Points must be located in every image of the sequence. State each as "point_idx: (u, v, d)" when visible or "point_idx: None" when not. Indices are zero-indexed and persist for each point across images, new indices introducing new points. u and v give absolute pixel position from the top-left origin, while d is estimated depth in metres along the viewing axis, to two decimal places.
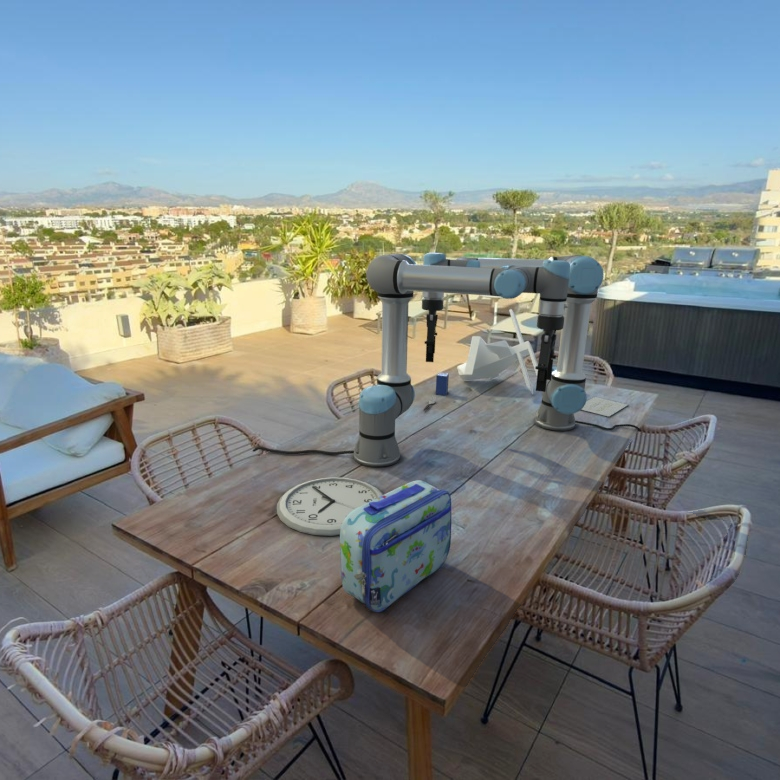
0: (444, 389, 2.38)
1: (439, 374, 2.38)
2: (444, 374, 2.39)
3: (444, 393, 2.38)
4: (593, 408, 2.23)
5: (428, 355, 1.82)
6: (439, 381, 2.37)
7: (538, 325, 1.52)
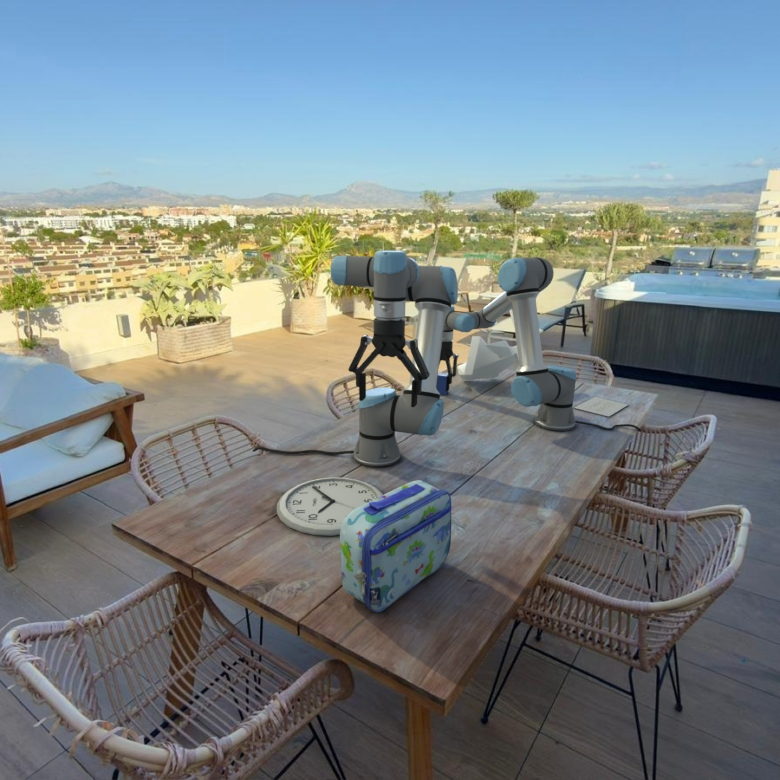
0: (444, 389, 2.38)
1: (439, 374, 2.38)
2: (444, 374, 2.39)
3: (444, 393, 2.38)
4: (593, 408, 2.23)
5: (448, 385, 2.38)
6: (439, 381, 2.37)
7: None
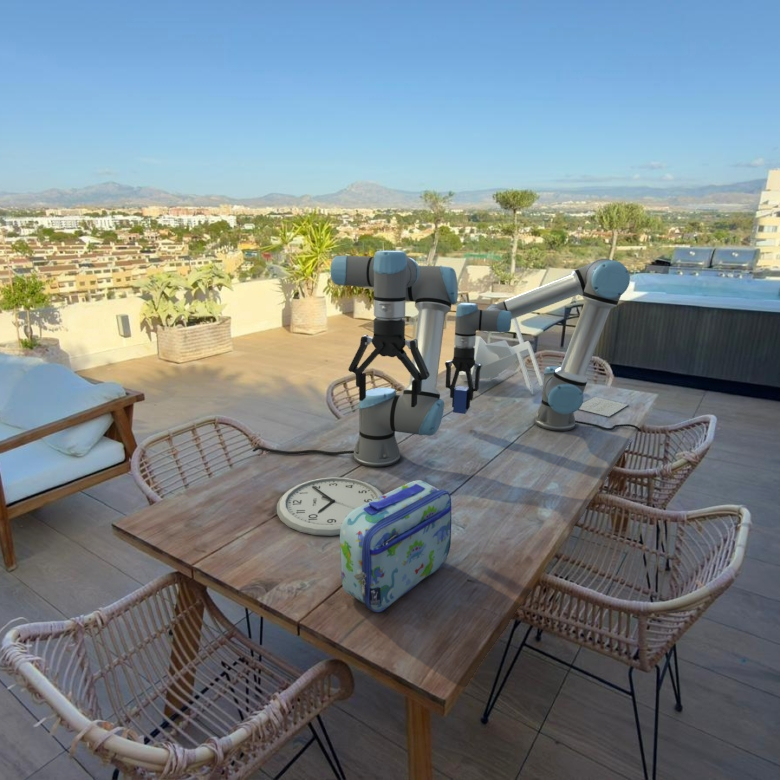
0: (463, 406, 1.93)
1: (458, 388, 1.94)
2: (464, 388, 1.94)
3: (463, 411, 1.94)
4: (593, 408, 2.23)
5: (469, 402, 1.94)
6: (458, 396, 1.93)
7: None
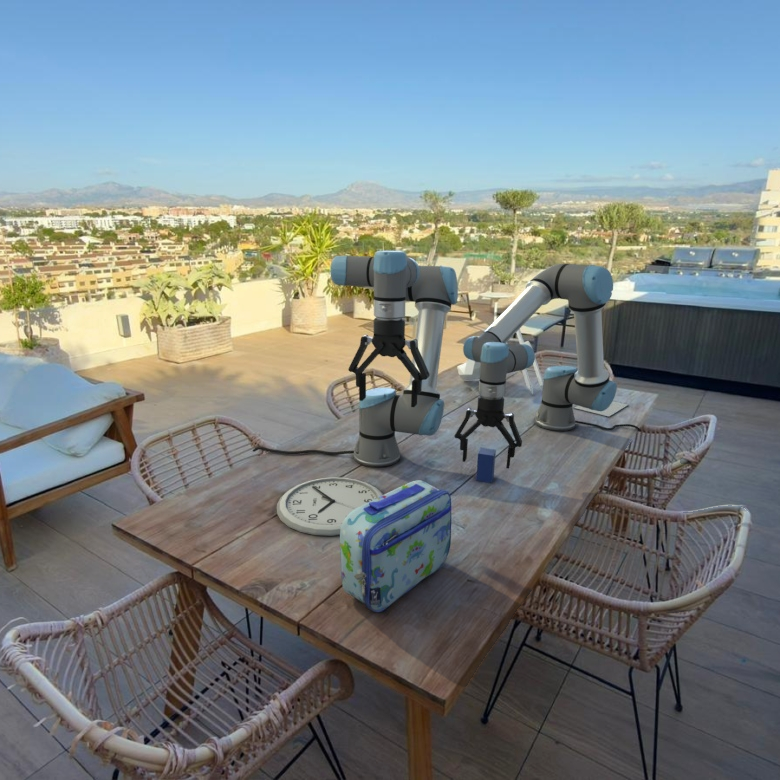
0: (490, 474, 1.56)
1: (482, 451, 1.57)
2: (489, 451, 1.57)
3: (489, 480, 1.57)
4: None
5: (509, 459, 1.55)
6: (482, 462, 1.56)
7: None
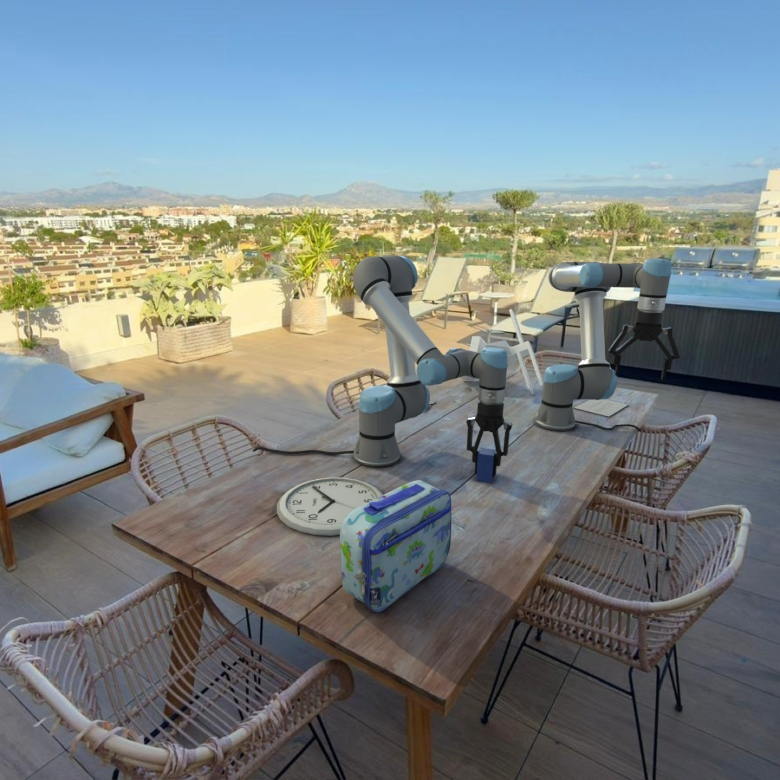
0: (490, 474, 1.56)
1: (482, 451, 1.57)
2: (489, 451, 1.57)
3: (489, 480, 1.57)
4: (593, 408, 2.23)
5: (665, 372, 1.64)
6: (482, 462, 1.56)
7: None
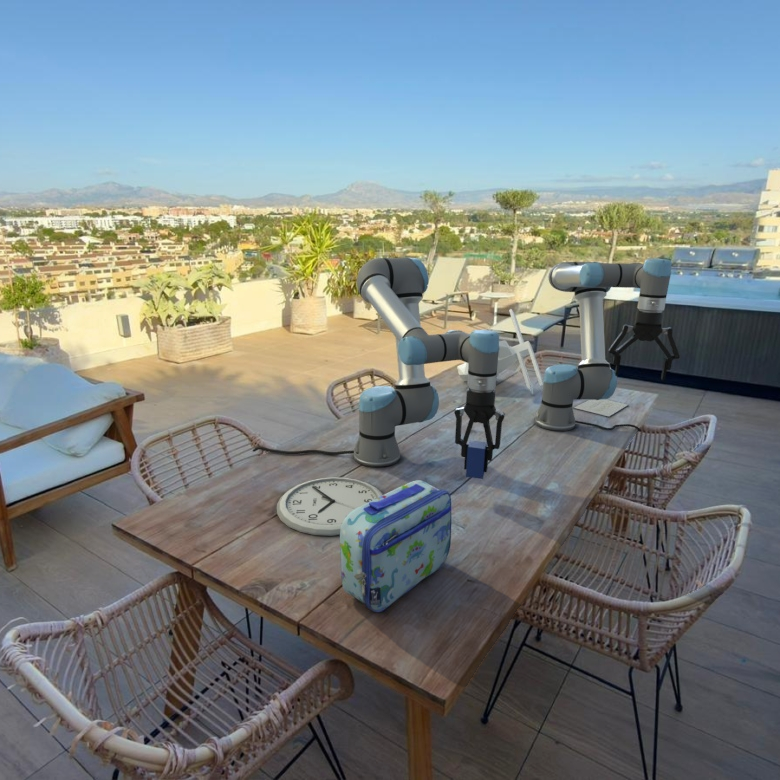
0: (480, 469, 1.43)
1: (472, 444, 1.44)
2: (480, 444, 1.44)
3: (480, 476, 1.43)
4: (593, 408, 2.23)
5: (665, 372, 1.64)
6: (472, 456, 1.42)
7: None
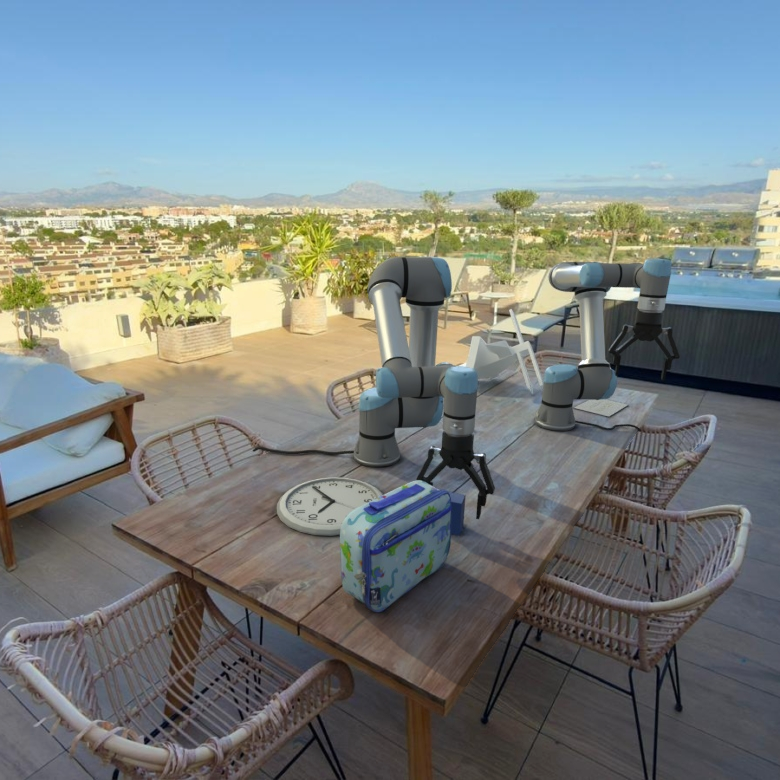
0: (457, 525, 1.29)
1: None
2: (457, 497, 1.30)
3: (457, 532, 1.30)
4: (593, 408, 2.23)
5: (665, 372, 1.64)
6: None
7: None
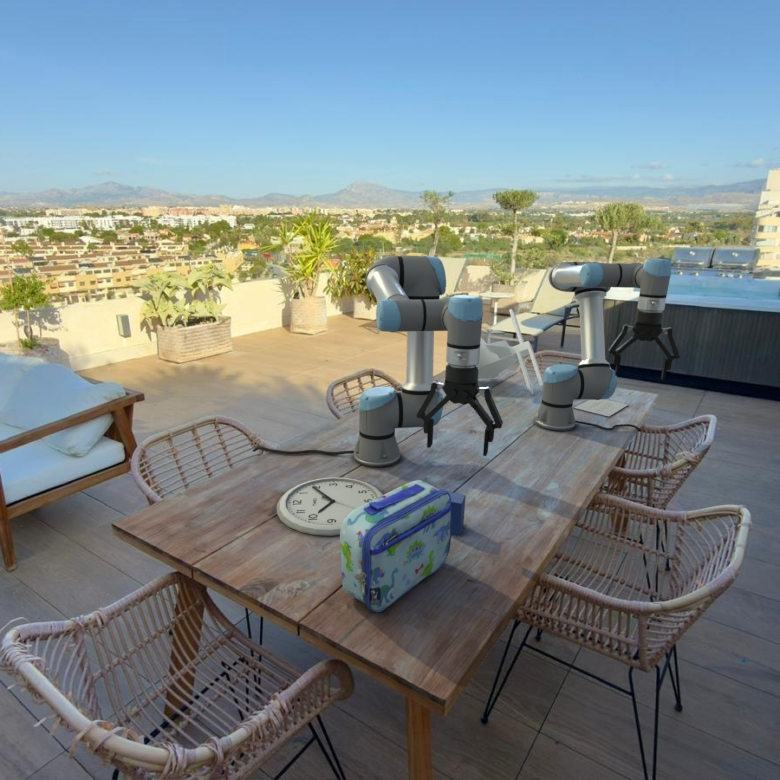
0: (457, 525, 1.29)
1: None
2: (457, 497, 1.30)
3: (457, 532, 1.30)
4: (593, 408, 2.23)
5: (665, 372, 1.64)
6: None
7: None
